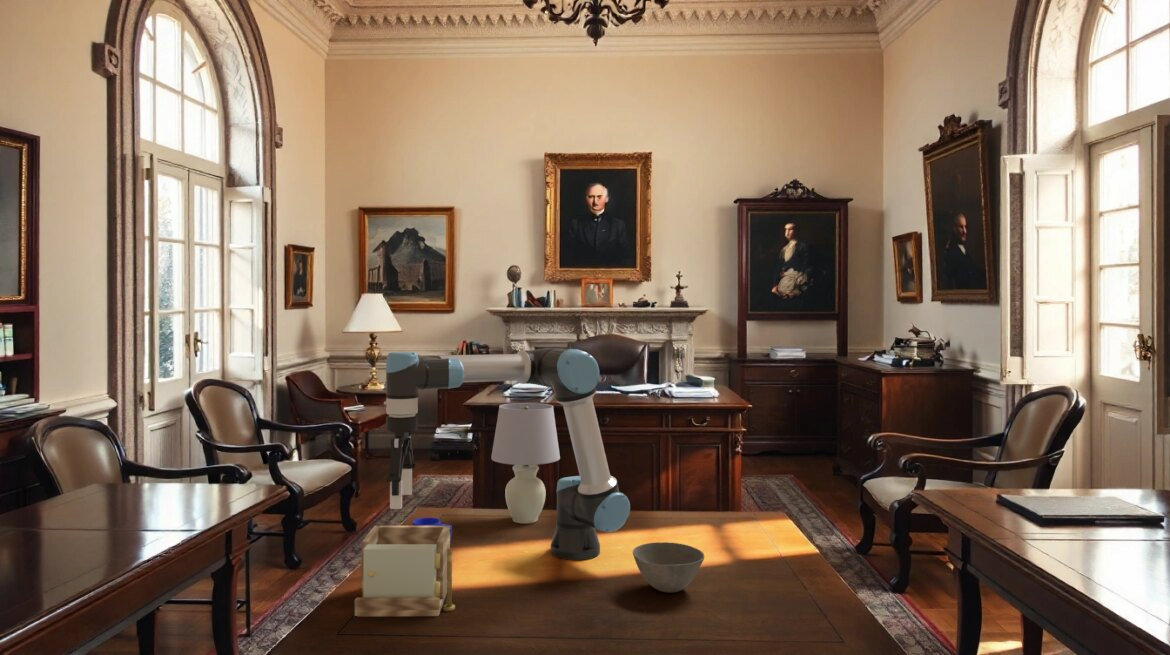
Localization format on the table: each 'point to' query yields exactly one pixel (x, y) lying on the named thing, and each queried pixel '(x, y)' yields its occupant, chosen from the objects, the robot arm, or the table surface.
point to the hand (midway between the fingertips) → (401, 501)
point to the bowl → (668, 564)
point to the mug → (430, 523)
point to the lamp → (525, 454)
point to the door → (400, 570)
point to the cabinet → (411, 604)
